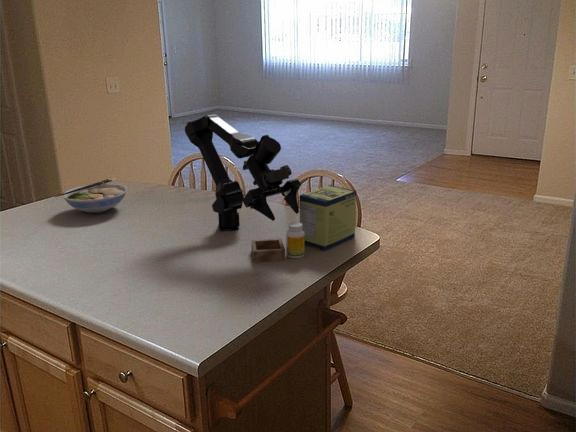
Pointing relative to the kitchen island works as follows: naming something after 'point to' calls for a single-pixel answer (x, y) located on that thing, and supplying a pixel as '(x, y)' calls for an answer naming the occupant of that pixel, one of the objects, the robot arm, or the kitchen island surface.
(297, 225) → the supplement bottle
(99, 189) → the ramen bowl
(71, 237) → the kitchen island surface
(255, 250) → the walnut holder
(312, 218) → the protein box
